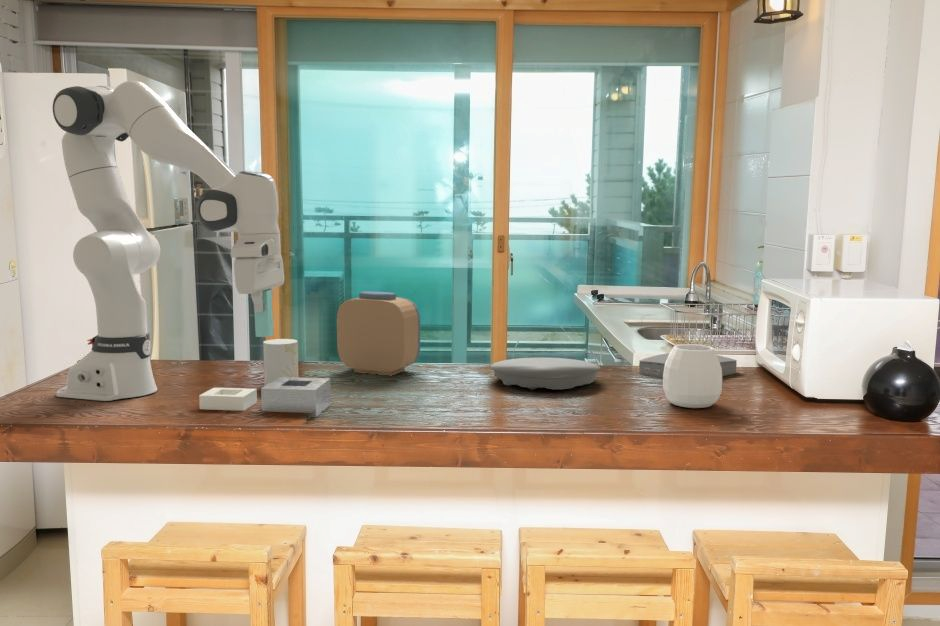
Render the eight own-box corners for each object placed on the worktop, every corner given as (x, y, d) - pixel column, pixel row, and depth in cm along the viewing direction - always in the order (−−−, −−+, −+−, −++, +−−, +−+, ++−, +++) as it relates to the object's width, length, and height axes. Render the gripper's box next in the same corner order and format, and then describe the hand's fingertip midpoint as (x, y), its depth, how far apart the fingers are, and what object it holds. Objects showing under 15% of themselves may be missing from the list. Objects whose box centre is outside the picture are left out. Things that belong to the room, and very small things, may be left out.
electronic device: (632, 373, 235) (632, 355, 234) (678, 364, 249) (679, 347, 248) (692, 385, 221) (692, 366, 220) (737, 374, 235) (738, 356, 234)
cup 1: (290, 394, 207) (289, 344, 205) (259, 392, 208) (257, 343, 207) (303, 387, 214) (302, 339, 213) (273, 385, 216) (271, 338, 215)
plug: (255, 336, 187) (253, 291, 186) (260, 334, 190) (258, 289, 189) (269, 336, 187) (266, 290, 186) (273, 334, 190) (271, 289, 189)
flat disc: (623, 386, 217) (623, 369, 217) (536, 400, 202) (536, 381, 201) (552, 369, 240) (552, 354, 240) (469, 381, 225) (469, 364, 224)
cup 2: (650, 401, 201) (652, 344, 199) (696, 396, 206) (698, 341, 205) (685, 414, 189) (688, 354, 187) (733, 408, 194) (736, 350, 192)
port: (261, 415, 186) (261, 388, 185) (280, 402, 198) (279, 376, 197) (315, 417, 185) (315, 389, 184) (331, 404, 197) (330, 378, 196)
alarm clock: (421, 371, 234) (421, 292, 231) (404, 378, 225) (404, 296, 223) (356, 365, 242) (355, 289, 240) (337, 371, 234) (336, 292, 231)
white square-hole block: (199, 413, 188) (199, 395, 187) (214, 404, 196) (213, 387, 195) (244, 414, 187) (243, 396, 186) (257, 406, 195) (256, 388, 194)
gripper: (263, 244, 197) (266, 304, 199) (227, 249, 177) (231, 316, 178) (289, 244, 196) (292, 304, 198) (256, 249, 176) (260, 316, 178)
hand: (263, 310), depth 188 cm, fingers closed on plug, 3 cm apart
